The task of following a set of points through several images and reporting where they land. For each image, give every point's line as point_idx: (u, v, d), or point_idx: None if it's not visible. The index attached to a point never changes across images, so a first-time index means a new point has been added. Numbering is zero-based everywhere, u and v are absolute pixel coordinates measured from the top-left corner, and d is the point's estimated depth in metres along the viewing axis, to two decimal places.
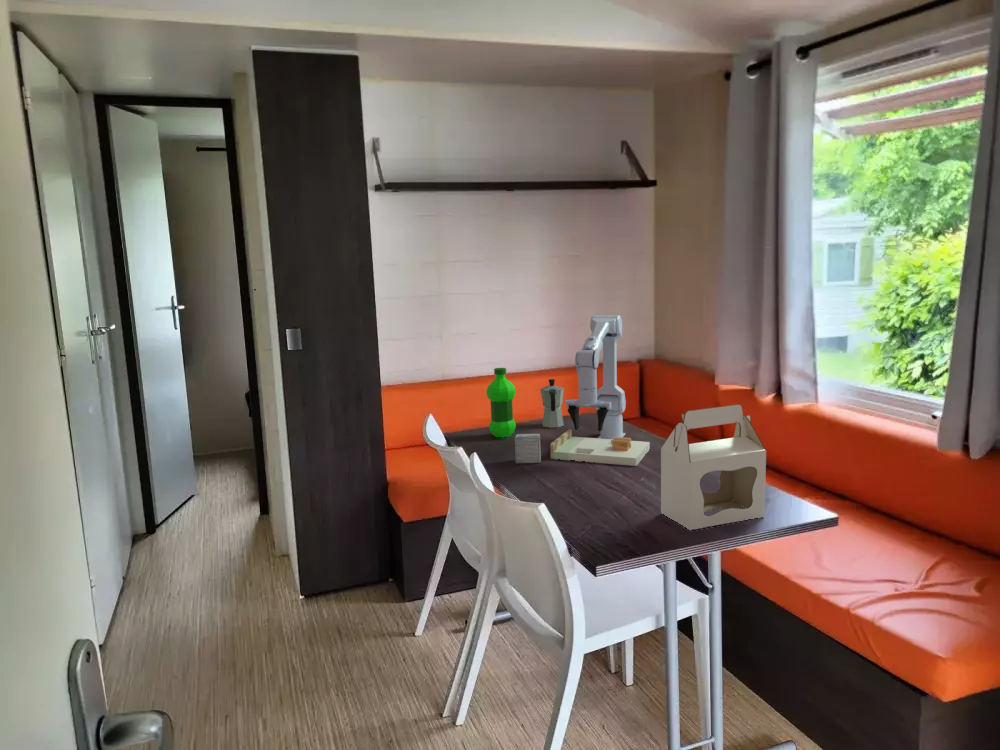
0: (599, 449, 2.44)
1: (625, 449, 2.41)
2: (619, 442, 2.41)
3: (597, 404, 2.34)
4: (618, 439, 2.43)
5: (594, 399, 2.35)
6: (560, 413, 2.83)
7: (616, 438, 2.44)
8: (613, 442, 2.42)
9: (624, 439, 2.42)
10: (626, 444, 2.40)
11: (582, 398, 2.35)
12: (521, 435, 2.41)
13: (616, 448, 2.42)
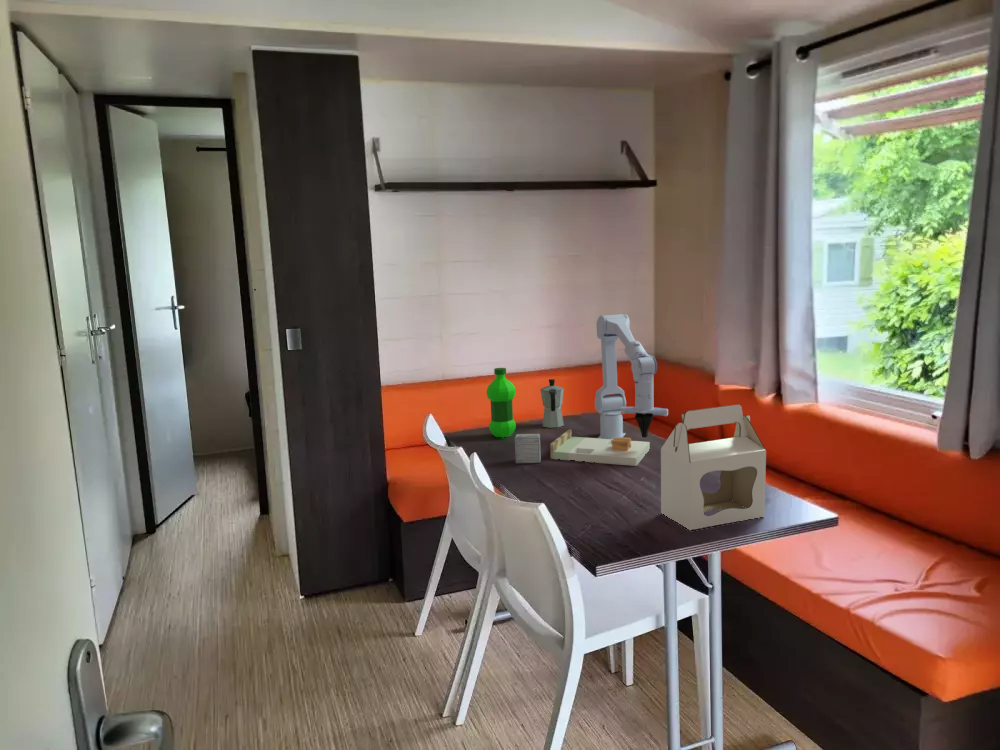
0: (599, 449, 2.44)
1: (625, 449, 2.41)
2: (619, 442, 2.41)
3: (654, 411, 2.35)
4: (618, 439, 2.43)
5: (651, 406, 2.36)
6: (560, 413, 2.83)
7: (616, 438, 2.44)
8: (613, 442, 2.42)
9: (624, 439, 2.42)
10: (626, 444, 2.40)
11: (639, 405, 2.36)
12: (521, 435, 2.41)
13: (616, 448, 2.42)
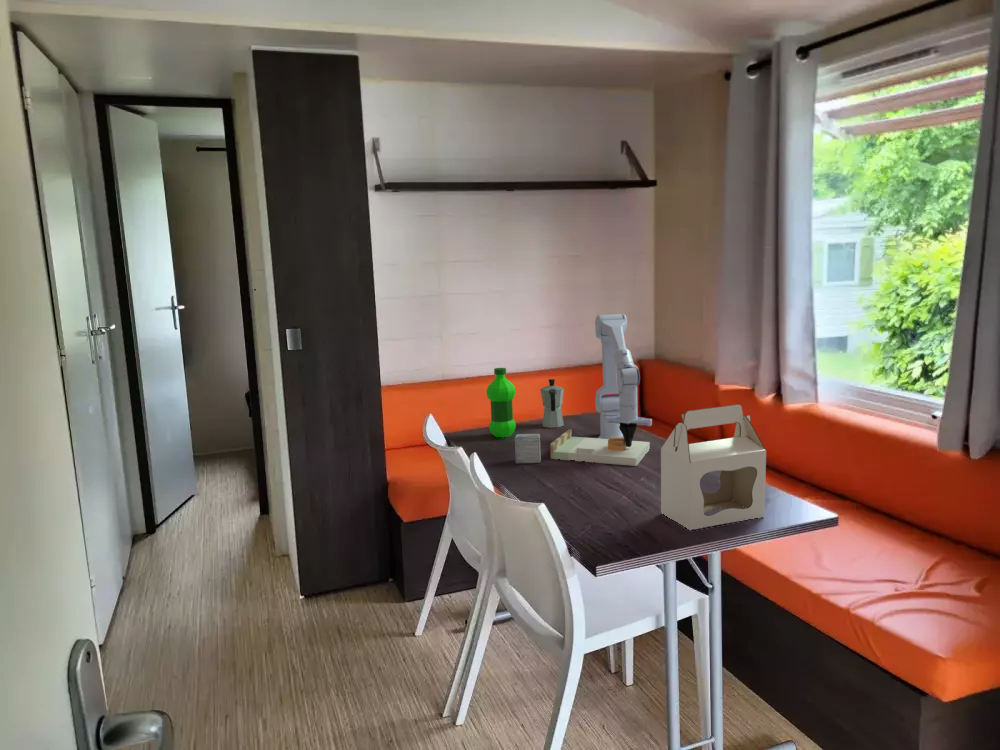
0: (599, 449, 2.44)
1: (621, 449, 2.41)
2: (615, 442, 2.42)
3: (638, 421, 2.38)
4: (614, 439, 2.43)
5: (635, 416, 2.39)
6: (560, 413, 2.83)
7: (612, 438, 2.45)
8: (609, 442, 2.42)
9: (620, 439, 2.43)
10: (622, 444, 2.41)
11: (623, 415, 2.38)
12: (521, 435, 2.41)
13: (612, 448, 2.42)
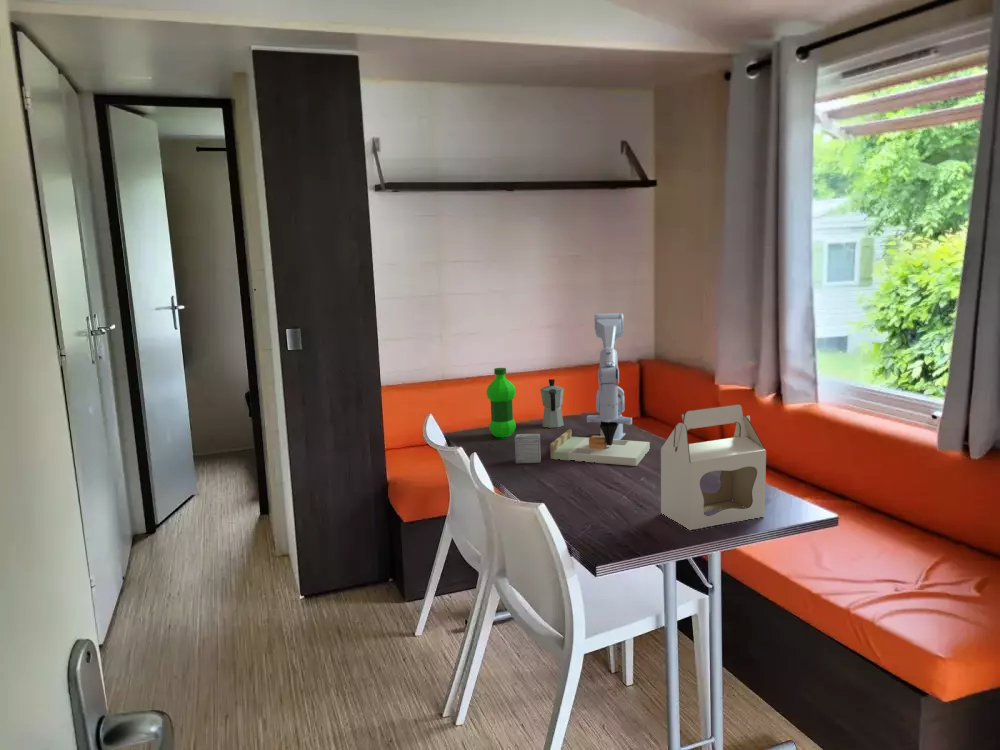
0: (599, 449, 2.44)
1: (601, 447, 2.44)
2: (596, 440, 2.44)
3: (618, 420, 2.40)
4: (595, 438, 2.46)
5: (616, 415, 2.41)
6: (560, 413, 2.83)
7: (593, 437, 2.47)
8: (590, 440, 2.45)
9: (601, 438, 2.45)
10: (602, 442, 2.43)
11: (604, 414, 2.41)
12: (521, 435, 2.41)
13: (593, 446, 2.45)
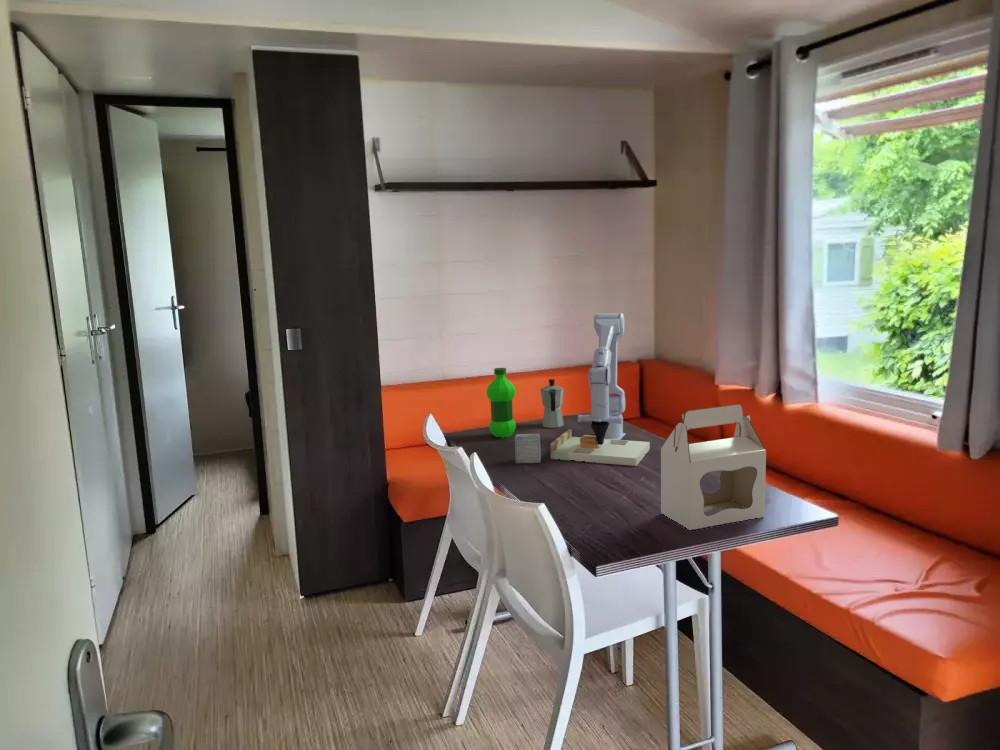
0: (599, 449, 2.44)
1: (592, 447, 2.45)
2: (587, 440, 2.45)
3: (609, 419, 2.41)
4: (586, 437, 2.47)
5: (606, 414, 2.42)
6: (560, 413, 2.83)
7: (584, 436, 2.48)
8: (581, 440, 2.46)
9: (592, 437, 2.46)
10: (593, 442, 2.44)
11: (595, 413, 2.42)
12: (521, 435, 2.41)
13: (584, 446, 2.46)
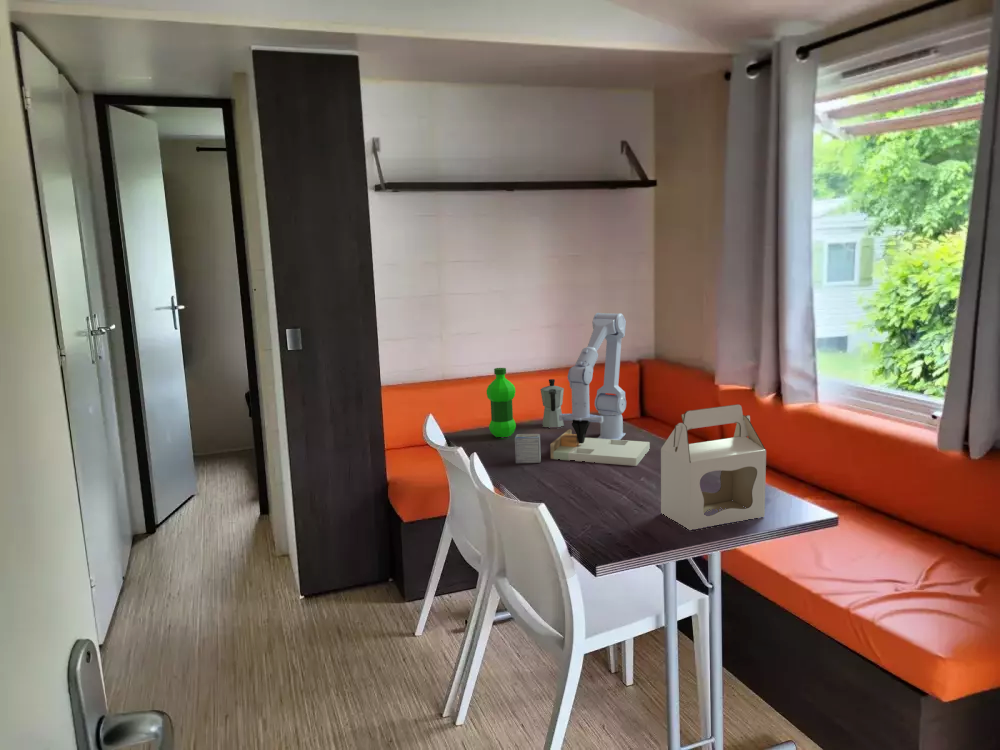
0: (599, 449, 2.44)
1: (573, 445, 2.47)
2: (568, 438, 2.48)
3: (590, 418, 2.44)
4: (567, 436, 2.50)
5: (587, 413, 2.45)
6: (560, 413, 2.83)
7: (565, 435, 2.51)
8: (562, 438, 2.49)
9: (573, 436, 2.49)
10: (574, 440, 2.47)
11: (575, 412, 2.45)
12: (521, 435, 2.41)
13: (565, 444, 2.49)
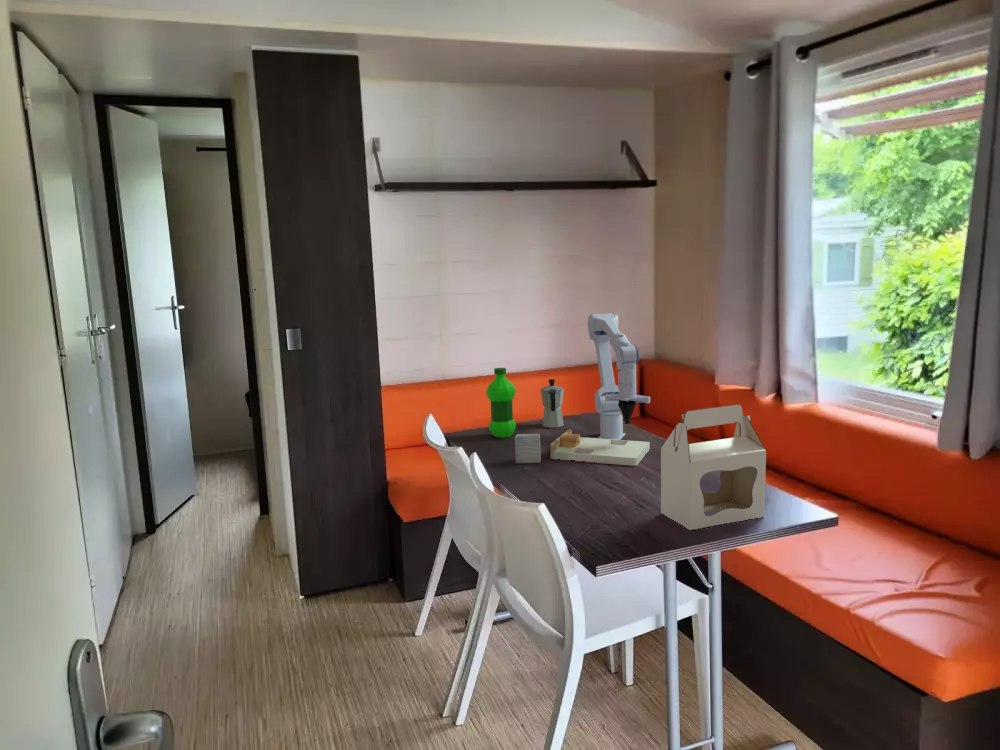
0: (599, 449, 2.44)
1: (573, 445, 2.47)
2: (568, 438, 2.48)
3: (637, 398, 2.42)
4: (567, 436, 2.50)
5: (634, 394, 2.43)
6: (560, 413, 2.83)
7: (565, 435, 2.51)
8: (562, 438, 2.49)
9: (573, 436, 2.49)
10: (574, 440, 2.47)
11: (622, 392, 2.43)
12: (521, 435, 2.41)
13: (565, 444, 2.49)
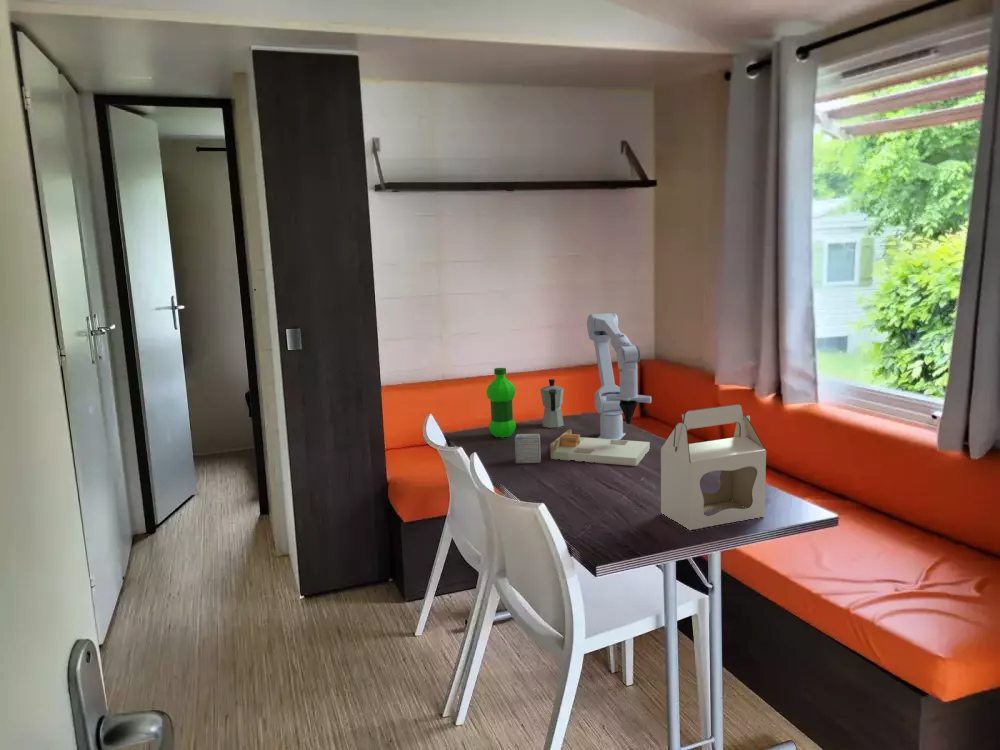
0: (599, 449, 2.44)
1: (573, 445, 2.47)
2: (568, 438, 2.48)
3: (638, 398, 2.43)
4: (567, 436, 2.50)
5: (635, 393, 2.43)
6: (560, 413, 2.83)
7: (565, 435, 2.51)
8: (562, 438, 2.49)
9: (573, 436, 2.49)
10: (574, 440, 2.47)
11: (624, 392, 2.43)
12: (521, 435, 2.41)
13: (565, 444, 2.49)
